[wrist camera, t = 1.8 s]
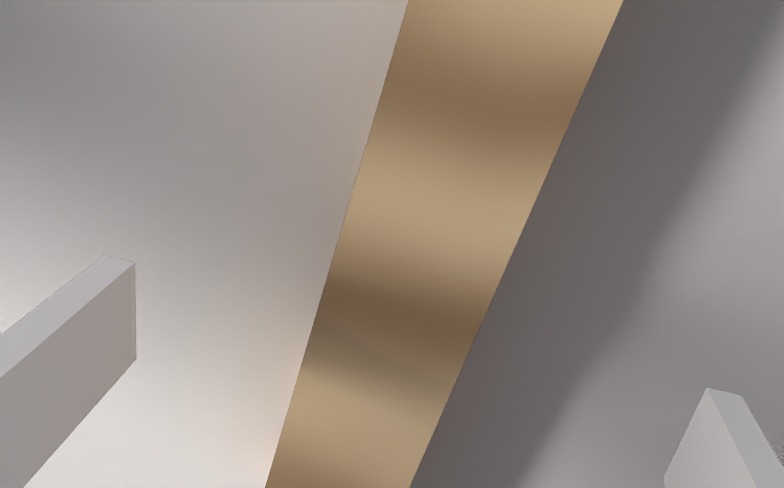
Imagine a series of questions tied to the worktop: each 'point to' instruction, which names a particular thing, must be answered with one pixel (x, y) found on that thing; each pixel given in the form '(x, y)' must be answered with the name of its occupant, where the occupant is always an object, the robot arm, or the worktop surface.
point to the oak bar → (432, 227)
